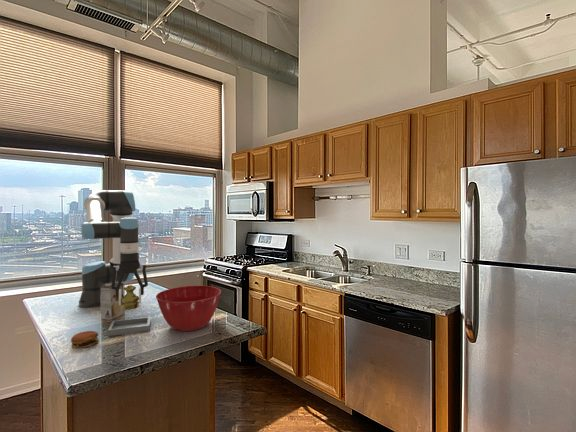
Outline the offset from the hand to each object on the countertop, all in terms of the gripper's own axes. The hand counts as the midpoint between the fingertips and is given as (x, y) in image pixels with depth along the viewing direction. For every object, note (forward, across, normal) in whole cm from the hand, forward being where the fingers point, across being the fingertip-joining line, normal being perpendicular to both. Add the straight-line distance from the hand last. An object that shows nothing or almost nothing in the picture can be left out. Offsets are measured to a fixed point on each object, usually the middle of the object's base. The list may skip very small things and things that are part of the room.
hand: (130, 303), depth 150 cm
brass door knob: (+2, 0, 0) cm, 2 cm away
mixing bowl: (+12, +25, -6) cm, 28 cm away
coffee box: (+12, -10, +22) cm, 27 cm away
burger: (+12, -15, -12) cm, 23 cm away
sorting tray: (+11, 0, 0) cm, 11 cm away
